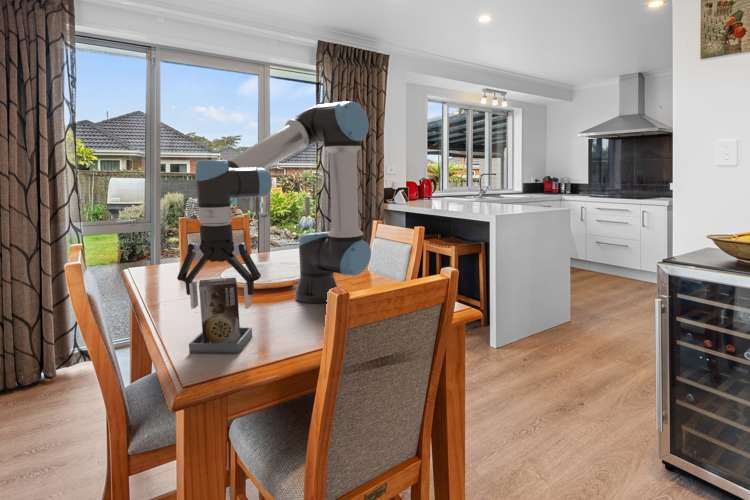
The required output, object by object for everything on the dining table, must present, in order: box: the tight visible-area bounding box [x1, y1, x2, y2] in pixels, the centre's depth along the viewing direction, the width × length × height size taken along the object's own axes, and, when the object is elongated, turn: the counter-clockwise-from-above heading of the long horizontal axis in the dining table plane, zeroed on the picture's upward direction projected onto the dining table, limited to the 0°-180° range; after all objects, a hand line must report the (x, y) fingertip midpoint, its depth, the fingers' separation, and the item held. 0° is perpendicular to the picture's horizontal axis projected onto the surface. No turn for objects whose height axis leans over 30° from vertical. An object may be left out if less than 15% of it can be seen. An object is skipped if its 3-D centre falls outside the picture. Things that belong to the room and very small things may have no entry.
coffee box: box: [198, 277, 241, 343], centre depth 116 cm, size 9×6×16 cm
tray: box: [188, 326, 253, 355], centre depth 118 cm, size 12×12×2 cm
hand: (221, 307), depth 116 cm, fingers open, 13 cm apart
